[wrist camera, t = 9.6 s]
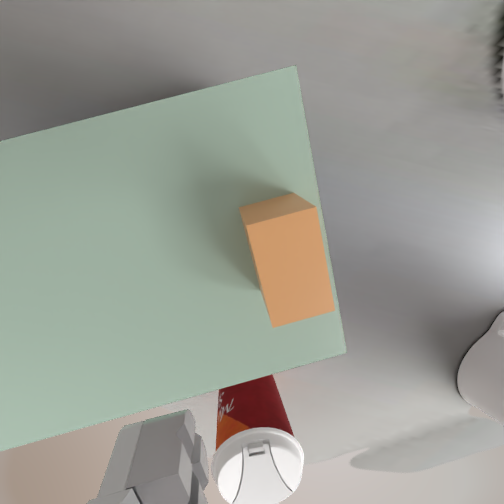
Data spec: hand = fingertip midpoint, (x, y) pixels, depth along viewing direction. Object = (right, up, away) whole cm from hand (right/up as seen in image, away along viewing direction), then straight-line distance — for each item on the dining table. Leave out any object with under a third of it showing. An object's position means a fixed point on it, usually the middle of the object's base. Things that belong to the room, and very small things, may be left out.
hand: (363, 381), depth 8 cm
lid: (-10, +2, +11) cm, 15 cm away
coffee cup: (-4, -11, +34) cm, 36 cm away
